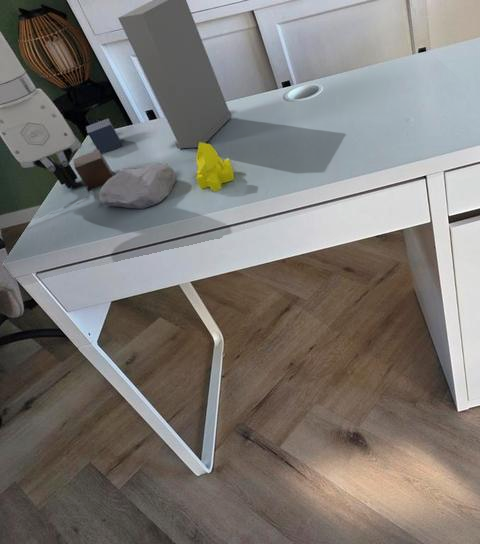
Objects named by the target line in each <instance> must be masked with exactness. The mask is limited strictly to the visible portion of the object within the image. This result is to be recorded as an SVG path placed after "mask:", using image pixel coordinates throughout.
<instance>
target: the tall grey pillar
mask: <svg viewBox="0 0 480 544" xmlns="http://www.w3.org/2000/svg"><path fill="white" fill-rule="evenodd" d="M118 21H119V23H120V25H121V27H122V29H123V31H124V33H125V36H126V37H127V40H128V41H129V44H130V45H131V48H132V50H133V52H134V55H135V56H136V58H137V61H138V62H139V64H140V66H141V69H142V71H143V73H144V75H145V77H146V79H147V82H148V84H149V85H150V87H151V91H152V92H153V94H154V97H155V98H156V100H157V102H158V104H159V106H160V108H161V110H162V113H163V114H164V117H165V119H166V121H167V123H168V126H169V127H170V129H171V131H172V133H173V135H174V138H175V140H176V142H175V146H176V148H177V149H180V150H183V149H191V148H198V146H199V142H201V143H206V144H207V142H208V141H209V140H210V139H212V137H213V136H214V135H215V134H216V133H217V132H218V131H219V130H220V129H221V128H222V127H223V126H224V125H225V124H226V123H227V122H228V121H230V120H231V118H232V117H233V115H232V113H231V111H230V110H229V107H228V104H227V101H226V100H225V97H224V94H223V92H222V89H221V86H220V84H219V81H218V78H217V76H216V74H215V71H214V68H213V66H212V64H211V60H210V58H209V56H208V53H207V51H206V47H205V45H204V41H203V40H202V38H201V35H200V31H199V30H198V27H197V25H196V21H195V19H194V16H193V14H192V12H191V9H190V6H189V4H188V1H187V0H150V1H148V2H146V3H144V4H142V5H141V6H138V7H136V8H135V9H133V10H130V11H129V12H127V13H125V14H122V15H121V16H119V17H118Z"/></svg>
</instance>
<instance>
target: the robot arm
mask: <svg viewBox="0 0 480 544" xmlns="http://www.w3.org/2000/svg"><path fill="white" fill-rule="evenodd" d="M0 137H1V139H2V140H3V142H4V144H5V145H6V146H7V148H8V149H9V152H10V153H11V154H12V155H13V157H14V158H15V160H16V161H17V162H18V163H19V164H20V166H21V168H23V169H28V168H35V167H39V168H42V169H44V170H48V171H49V172H52V173H53V175H54V176H55V177H56V179H57V180H58V182H59V183H60V184H61V185H65V187H66V188H67V189H71V188H72V187H77V180H78V179H79V178H78V174H77V173H76V172H75V171H74V169H73V167H72V166H71V164H70V163H69V162H70V160H71V157H72V154H73V153H75V152H76V151H78V150H79V149H81V148H82V147H83V144H82V141H81V140H80V139H78V137H77V136H76V135H75V134H74V132H73V129H72V128H71V127H70V125H69V123H68V122H67V120H66V118H65V117H64V115H63V114H62V113H61V112H60V110H59V109H58V107H57V106H56V105H55V103H54V102H53V101H52V99H51V98H50V97H49V96H48V95H47V93H45V92H44V91H43V89H41V88H37V87H36V85H35V84H34V82H33V81H32V79H31V78H30V76H29V75H28V73H27V72H26V70H25V69H24V67H23V65H22V64H21V62H20V61H19V59H18V57H17V56H16V54H15V53H14V50H13V49H12V48H11V46H10V44H9V43H8V41H7V40H6V38H5V36H4V35H3V33H2V32H1V31H0ZM55 154H56V156H57V158H58V160H59V163H57V162H56V161H54V160H53V158H52V157H51V156H52V155H55Z"/></svg>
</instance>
